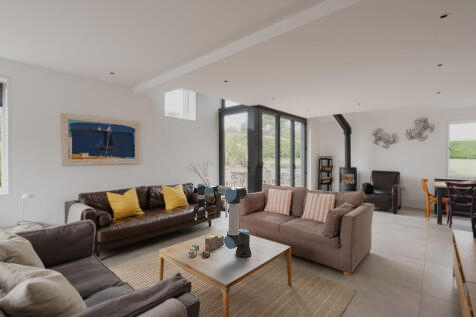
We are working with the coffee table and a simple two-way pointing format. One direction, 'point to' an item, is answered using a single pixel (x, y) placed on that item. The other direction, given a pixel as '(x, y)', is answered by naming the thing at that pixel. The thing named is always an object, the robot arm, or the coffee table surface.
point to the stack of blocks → (213, 241)
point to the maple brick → (193, 253)
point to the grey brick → (196, 247)
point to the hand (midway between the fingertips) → (201, 218)
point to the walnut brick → (206, 254)
